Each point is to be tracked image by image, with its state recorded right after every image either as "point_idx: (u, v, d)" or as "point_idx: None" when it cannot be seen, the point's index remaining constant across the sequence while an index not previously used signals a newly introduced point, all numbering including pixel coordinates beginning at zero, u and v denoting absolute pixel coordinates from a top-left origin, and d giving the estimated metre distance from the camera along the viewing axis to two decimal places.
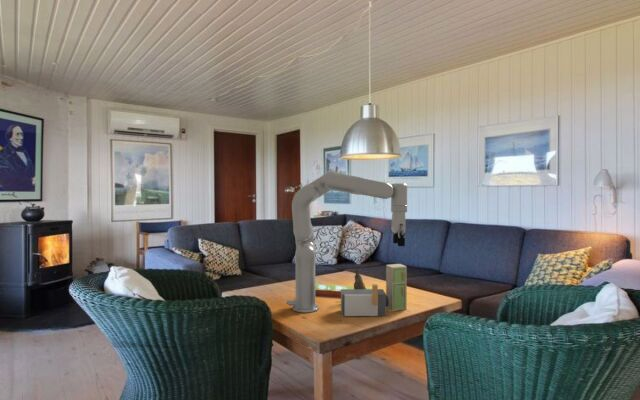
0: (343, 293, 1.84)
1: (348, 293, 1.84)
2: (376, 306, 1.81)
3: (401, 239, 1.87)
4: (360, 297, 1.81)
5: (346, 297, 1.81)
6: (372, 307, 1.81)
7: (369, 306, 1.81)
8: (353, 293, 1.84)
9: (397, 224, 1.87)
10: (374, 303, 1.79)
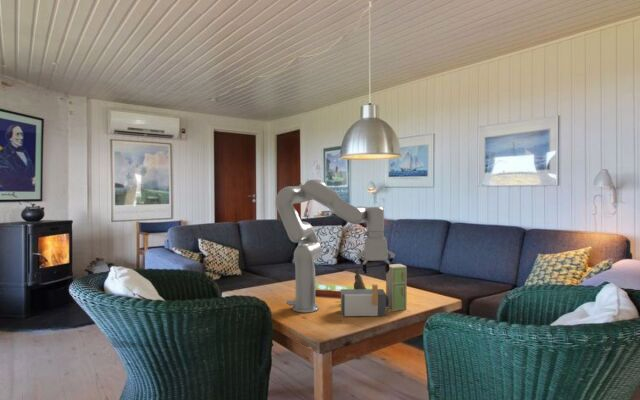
0: (343, 293, 1.84)
1: (348, 293, 1.84)
2: (376, 306, 1.81)
3: None
4: (360, 297, 1.81)
5: (346, 297, 1.81)
6: (372, 307, 1.81)
7: (369, 306, 1.81)
8: (353, 293, 1.84)
9: (387, 250, 1.77)
10: (374, 303, 1.79)
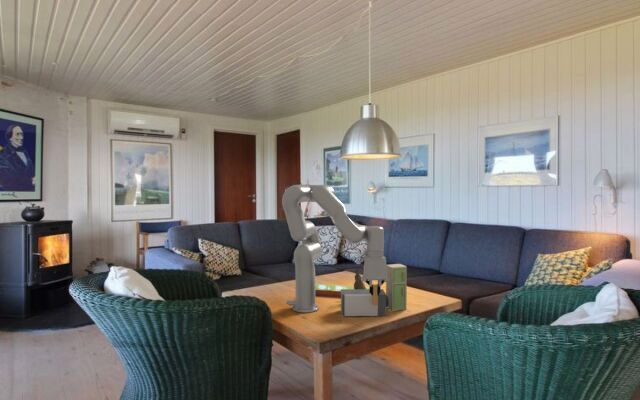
0: (343, 293, 1.84)
1: (348, 293, 1.84)
2: (376, 306, 1.81)
3: None
4: (360, 297, 1.81)
5: (346, 297, 1.81)
6: (372, 307, 1.81)
7: (369, 306, 1.81)
8: (353, 293, 1.84)
9: (386, 270, 1.78)
10: (374, 303, 1.79)
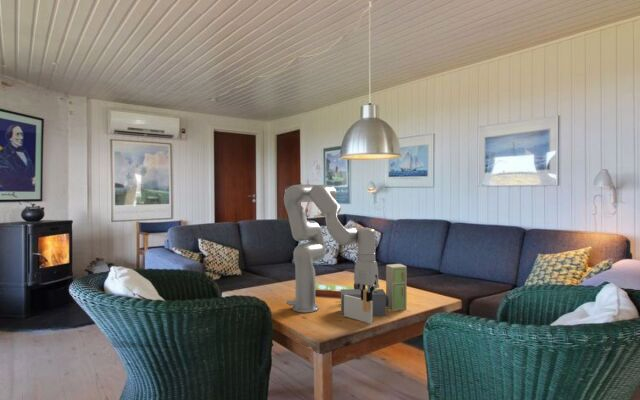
0: (343, 293, 1.84)
1: (348, 293, 1.84)
2: (370, 313, 1.71)
3: (370, 293, 1.69)
4: (356, 300, 1.76)
5: (345, 297, 1.80)
6: (366, 313, 1.73)
7: (364, 311, 1.74)
8: (353, 293, 1.84)
9: (373, 276, 1.66)
10: (364, 309, 1.70)
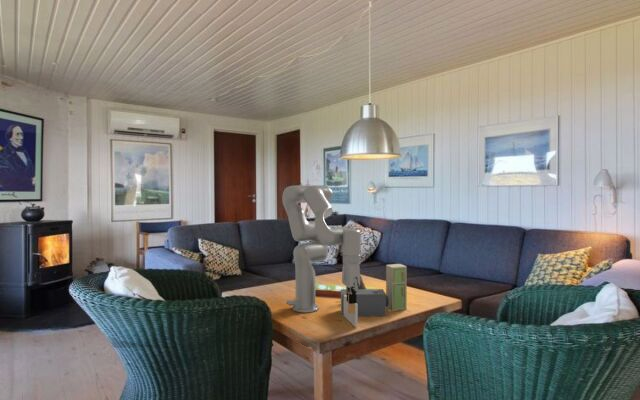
0: (343, 293, 1.84)
1: None
2: (354, 316, 1.68)
3: (353, 296, 1.65)
4: None
5: (344, 297, 1.80)
6: (353, 316, 1.69)
7: (352, 314, 1.71)
8: None
9: (351, 278, 1.62)
10: (348, 311, 1.68)
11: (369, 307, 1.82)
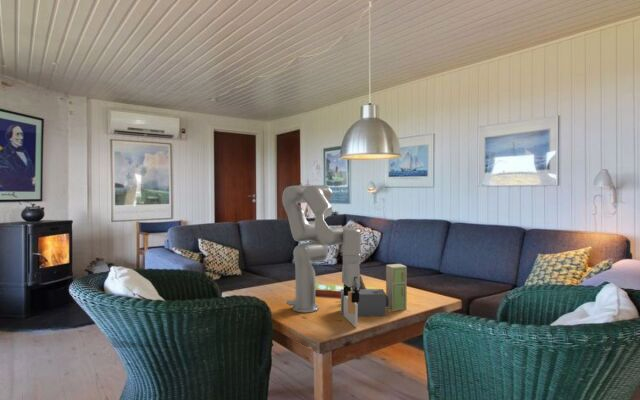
0: (343, 293, 1.84)
1: None
2: (354, 316, 1.68)
3: (356, 294, 1.62)
4: None
5: (344, 297, 1.80)
6: (353, 316, 1.69)
7: (352, 314, 1.71)
8: None
9: (351, 277, 1.62)
10: (348, 311, 1.68)
11: (369, 307, 1.82)
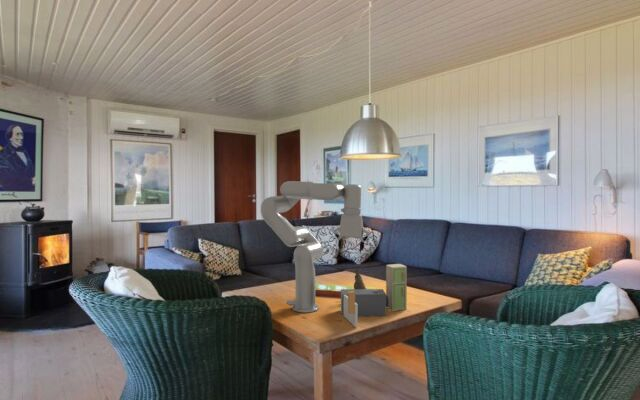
0: (343, 293, 1.84)
1: None
2: (354, 316, 1.68)
3: (363, 243, 1.79)
4: None
5: (344, 297, 1.80)
6: (353, 316, 1.69)
7: (352, 314, 1.71)
8: None
9: (361, 228, 1.77)
10: (348, 311, 1.68)
11: (369, 307, 1.82)
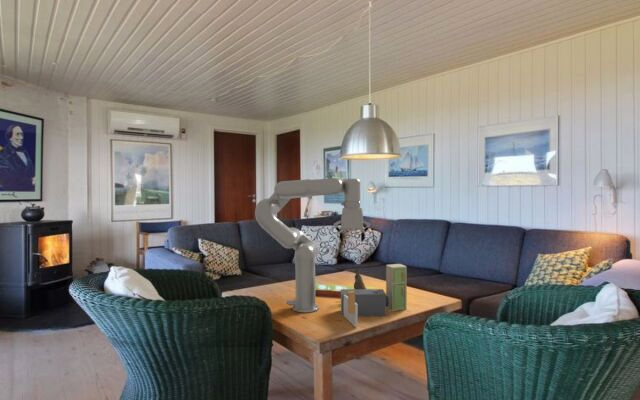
0: (343, 293, 1.84)
1: None
2: (354, 316, 1.68)
3: None
4: None
5: (344, 297, 1.80)
6: (353, 316, 1.69)
7: (352, 314, 1.71)
8: None
9: (363, 220, 1.86)
10: (348, 311, 1.68)
11: (369, 307, 1.82)
